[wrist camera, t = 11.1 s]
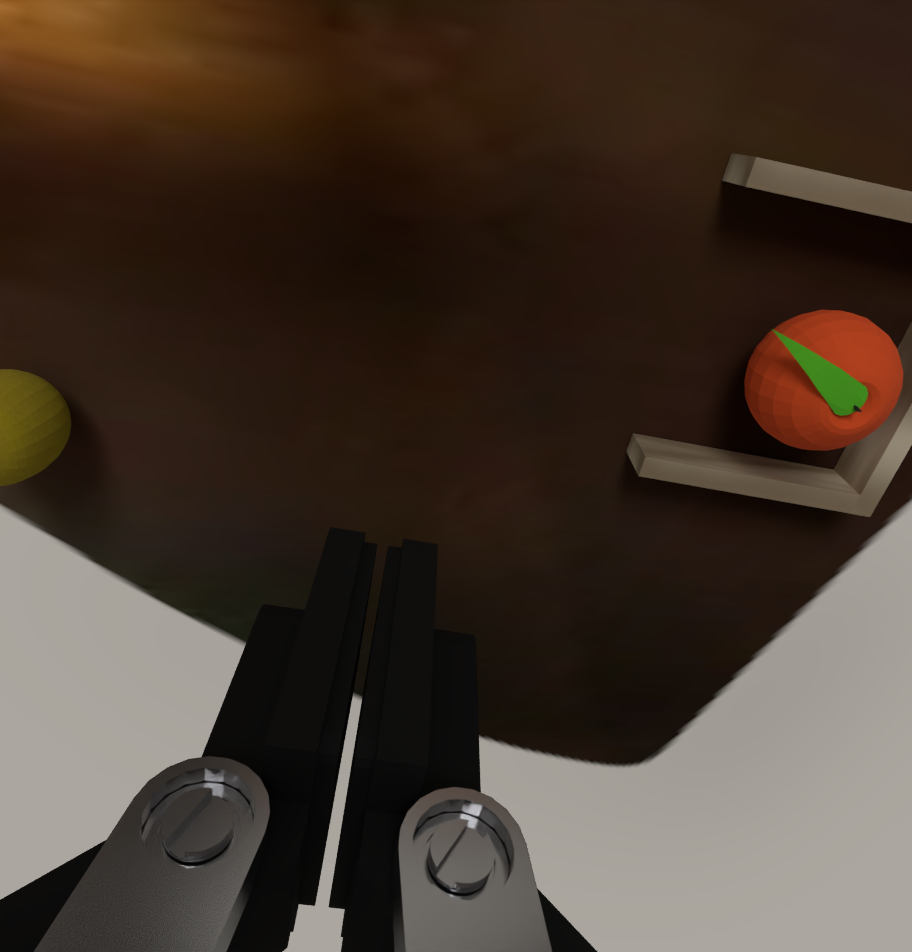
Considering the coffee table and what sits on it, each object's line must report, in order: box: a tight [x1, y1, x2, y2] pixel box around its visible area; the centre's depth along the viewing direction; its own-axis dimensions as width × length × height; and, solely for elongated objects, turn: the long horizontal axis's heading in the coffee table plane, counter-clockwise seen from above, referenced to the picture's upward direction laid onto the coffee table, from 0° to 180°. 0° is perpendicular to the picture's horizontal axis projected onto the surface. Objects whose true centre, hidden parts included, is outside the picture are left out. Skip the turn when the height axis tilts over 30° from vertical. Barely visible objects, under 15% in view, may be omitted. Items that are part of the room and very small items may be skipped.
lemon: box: [0, 369, 71, 486], centre depth 34 cm, size 6×6×8 cm
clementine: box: [745, 310, 903, 451], centre depth 33 cm, size 8×7×7 cm
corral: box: [626, 153, 912, 517], centre depth 35 cm, size 16×14×3 cm
